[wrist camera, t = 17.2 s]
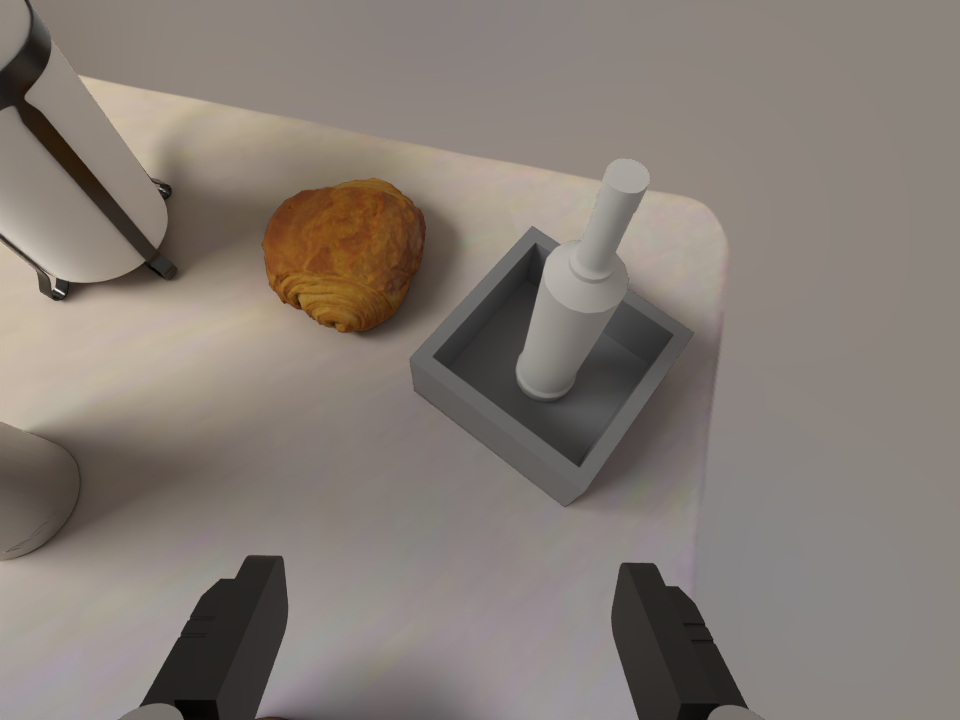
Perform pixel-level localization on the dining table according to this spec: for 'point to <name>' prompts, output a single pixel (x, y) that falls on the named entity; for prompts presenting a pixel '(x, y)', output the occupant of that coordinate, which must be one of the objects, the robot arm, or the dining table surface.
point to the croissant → (345, 252)
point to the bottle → (580, 288)
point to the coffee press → (68, 169)
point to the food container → (270, 718)
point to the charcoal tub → (513, 415)
